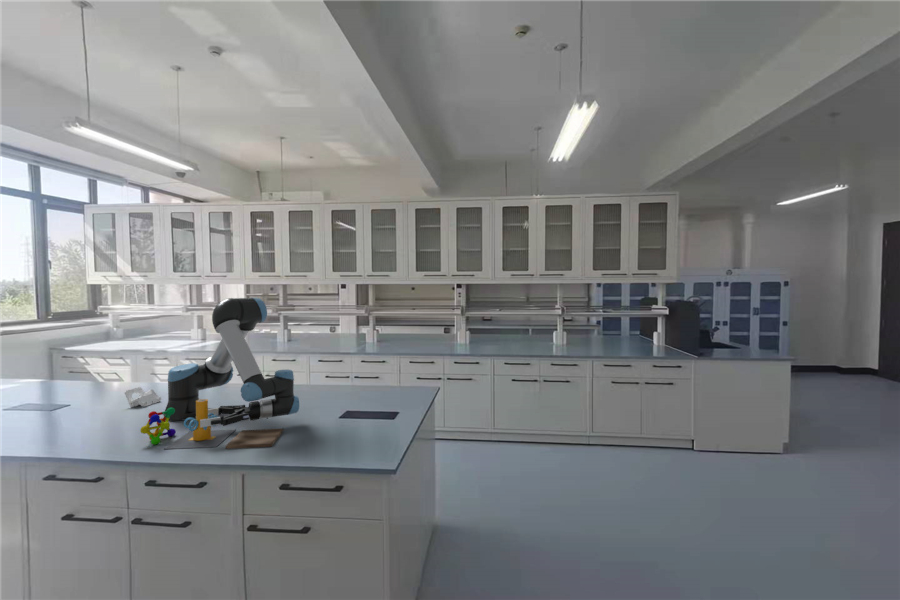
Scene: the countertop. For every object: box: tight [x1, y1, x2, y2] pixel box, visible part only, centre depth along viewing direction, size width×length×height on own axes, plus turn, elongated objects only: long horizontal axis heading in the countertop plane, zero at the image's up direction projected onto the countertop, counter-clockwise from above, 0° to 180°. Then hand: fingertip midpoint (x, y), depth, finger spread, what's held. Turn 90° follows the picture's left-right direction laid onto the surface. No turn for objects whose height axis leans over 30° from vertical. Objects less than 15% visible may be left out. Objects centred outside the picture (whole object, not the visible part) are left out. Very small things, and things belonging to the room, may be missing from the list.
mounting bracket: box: [124, 386, 162, 408], centre depth 199 cm, size 12×6×11 cm, turn 175°
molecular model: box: [140, 408, 177, 445], centre depth 152 cm, size 12×7×12 cm, turn 0°
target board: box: [225, 428, 284, 450], centre depth 153 cm, size 16×16×1 cm
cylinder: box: [183, 398, 219, 441], centre depth 153 cm, size 12×10×15 cm
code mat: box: [163, 429, 236, 450], centre depth 153 cm, size 18×18×1 cm
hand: (199, 418), depth 152 cm, fingers open, 13 cm apart
